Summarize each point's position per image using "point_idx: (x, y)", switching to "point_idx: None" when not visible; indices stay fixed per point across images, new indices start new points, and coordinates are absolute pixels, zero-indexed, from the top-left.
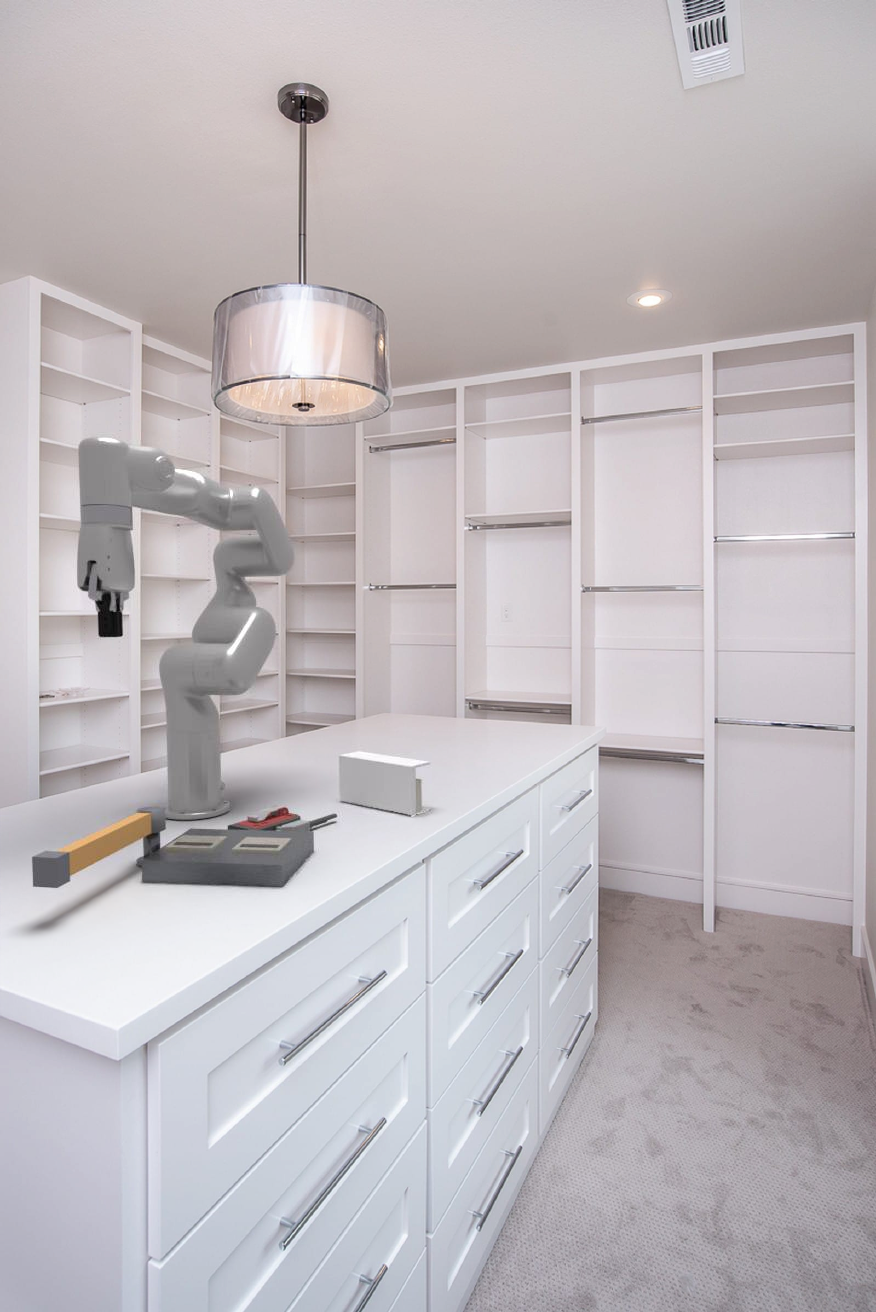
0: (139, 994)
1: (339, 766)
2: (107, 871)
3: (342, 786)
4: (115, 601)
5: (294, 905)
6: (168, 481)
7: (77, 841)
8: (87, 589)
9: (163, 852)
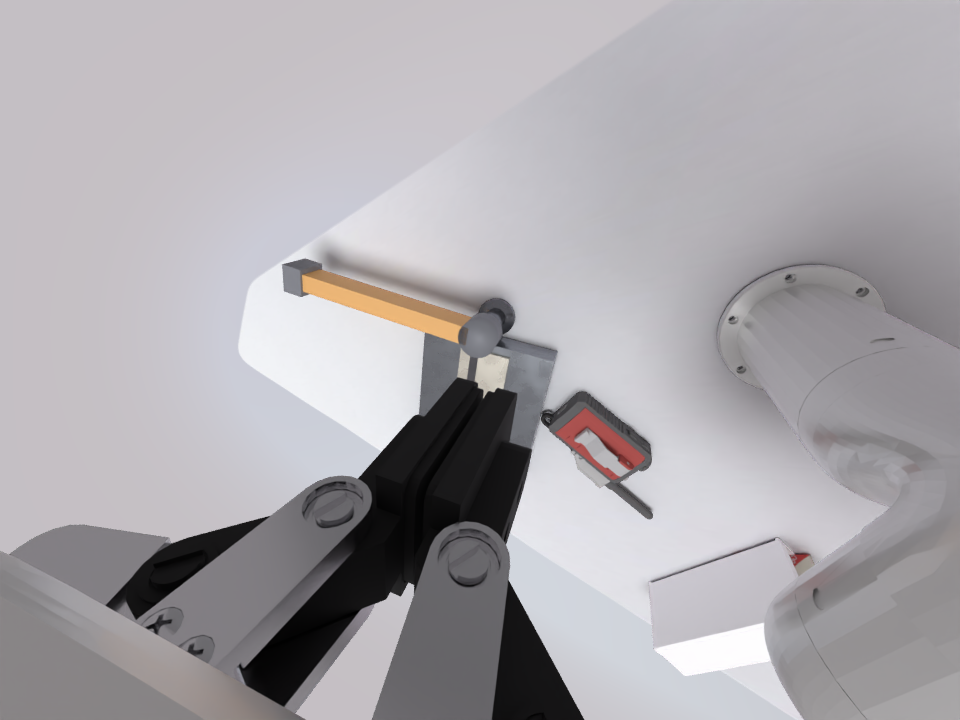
0: (262, 360)
1: None
2: (469, 270)
3: (780, 562)
4: (327, 665)
5: None
6: None
7: (340, 289)
8: (33, 623)
9: (452, 344)
